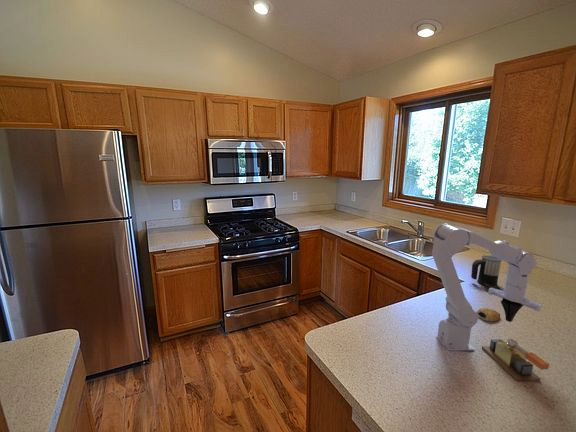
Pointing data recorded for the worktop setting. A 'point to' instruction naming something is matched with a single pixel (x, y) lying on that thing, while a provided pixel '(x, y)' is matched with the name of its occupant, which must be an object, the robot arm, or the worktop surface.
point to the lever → (529, 355)
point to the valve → (511, 357)
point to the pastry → (488, 314)
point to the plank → (511, 370)
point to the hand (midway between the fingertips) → (509, 320)
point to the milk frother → (487, 271)
